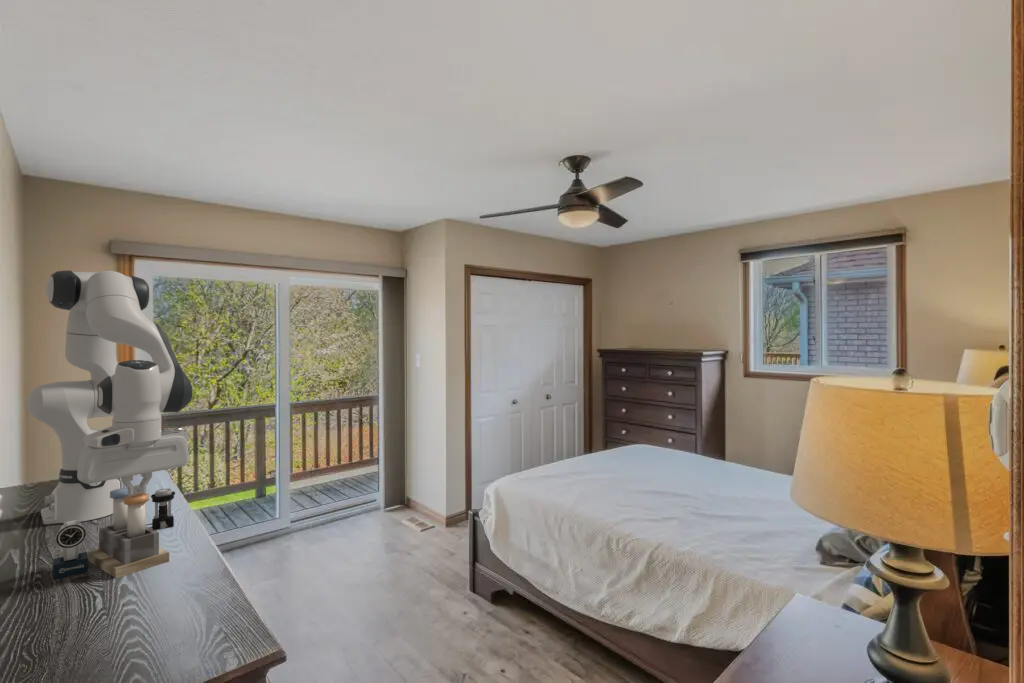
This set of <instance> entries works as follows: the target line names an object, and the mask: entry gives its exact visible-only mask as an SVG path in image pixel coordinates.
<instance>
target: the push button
mask: <svg viewBox="0 0 1024 683" xmlns="http://www.w3.org/2000/svg"><path fill="white" fill-rule="evenodd" d="M175 495H176V492H175V491H172V489H171V488H161V489H157V490H155V491H154V493H153V494H151V495H150V498H151V501H152V503H154V516H153V518H152V521H151V523H147V524H146V523H145V527H148V526H149V528H151V529H153V530H155V531H157V530H161V529H167V528H173V527H174V524H175V519H174V518H175V517H174V515H173V513H172V500H173V499H175Z"/></svg>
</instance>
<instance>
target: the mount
mask: <svg viewBox="0 0 1024 683" xmlns="http://www.w3.org/2000/svg"><path fill="white" fill-rule="evenodd" d="M149 527H150V526H149ZM149 527H148V526H145V535H142V536H138V537H134V538H131V539H127V528H125V529H122V530H118V531H113V524H110V525H106V526H102V527H99V532H98V534H99V535H98V537H99V538H98V539H99V541H98V548H96V549H93V550H89V551H87V554H88V562H90V563H91V564H93V565H95V566H96V567H97V568H99V569H100V570H101V571H104V573H105V572H106V573H107V574H108V575H110V576H111V577H113V578H114V579H119V578H122V577H124V576H129V575H131V574H134V573H137V572H140V571H143V570H147V569H149V568H153V567H155V566H159V565H162V564H164V563H167V562H170V552H169V551H167V550H166V549H163V548H162V547H160V532H159V531H157V530H153V529H152V528H149Z"/></svg>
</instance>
